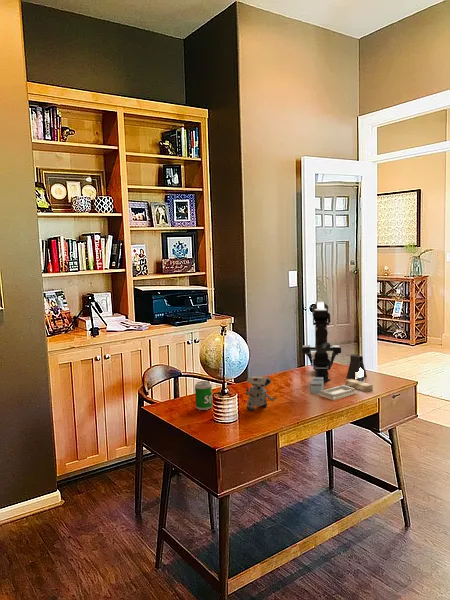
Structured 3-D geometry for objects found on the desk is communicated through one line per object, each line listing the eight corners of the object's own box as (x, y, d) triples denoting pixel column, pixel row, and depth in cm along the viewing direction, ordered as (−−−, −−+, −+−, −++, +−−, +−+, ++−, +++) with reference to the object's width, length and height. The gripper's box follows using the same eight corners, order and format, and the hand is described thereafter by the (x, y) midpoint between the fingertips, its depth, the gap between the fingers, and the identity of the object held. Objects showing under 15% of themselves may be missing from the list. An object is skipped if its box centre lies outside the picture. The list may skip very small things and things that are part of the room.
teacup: (323, 376, 268) (323, 358, 267) (306, 370, 281) (305, 353, 280) (340, 372, 274) (340, 354, 273) (322, 366, 287) (322, 350, 286)
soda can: (200, 412, 219) (198, 386, 217) (193, 407, 225) (192, 382, 224) (215, 409, 222) (214, 383, 220) (208, 404, 229) (207, 379, 227)
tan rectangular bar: (345, 385, 251) (345, 380, 250) (351, 384, 253) (351, 378, 252) (366, 392, 239) (366, 386, 238) (372, 390, 241) (372, 384, 240)
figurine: (262, 415, 212) (261, 381, 211) (244, 409, 221) (243, 376, 219) (276, 409, 218) (276, 376, 216) (258, 404, 227) (257, 372, 225)
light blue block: (313, 386, 251) (313, 376, 250) (323, 386, 250) (323, 377, 249) (311, 393, 240) (310, 383, 239) (321, 394, 238) (321, 384, 238)
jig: (333, 400, 228) (333, 395, 228) (318, 395, 236) (318, 390, 236) (356, 393, 236) (356, 388, 236) (340, 389, 244) (340, 384, 244)
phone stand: (358, 374, 268) (357, 353, 267) (366, 376, 263) (366, 355, 262) (346, 377, 263) (346, 355, 262) (355, 380, 259) (355, 357, 257)
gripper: (301, 338, 234) (301, 370, 236) (341, 338, 231) (341, 371, 233) (302, 333, 245) (302, 364, 247) (340, 333, 242) (340, 364, 244)
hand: (321, 366), depth 242 cm, fingers open, 9 cm apart
